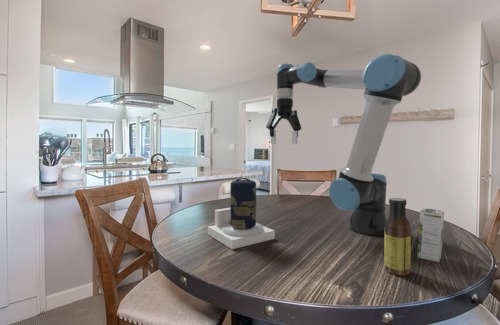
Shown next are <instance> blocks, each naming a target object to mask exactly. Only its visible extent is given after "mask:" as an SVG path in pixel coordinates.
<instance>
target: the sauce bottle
mask: <svg viewBox="0 0 500 325" xmlns="http://www.w3.org/2000/svg"><path fill="white" fill-rule="evenodd" d="M388 203H389V215H388V217H387V222H386V225H385V232H384V233H385V235H384V249H383V250H384V256H383V258H384V259H383V260H384V262H383V264H384V265H385V266H384V268H385V270H386V271H387V272H389V274H390V273H391V274H392V275H395V276H408V275H410V273H411V268H412V267H411V266H412V264H411V263H412V261H411V260H412V258H411V257H412V253H411V252H412V249H411V247H412V234H411V224H410V221H409V220H408V219H407V217H406V216H407V214H406V205H407V203H408V202H407V199H406V198H404V197H403V198H402V197H390V198H389V199H388Z"/></svg>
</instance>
